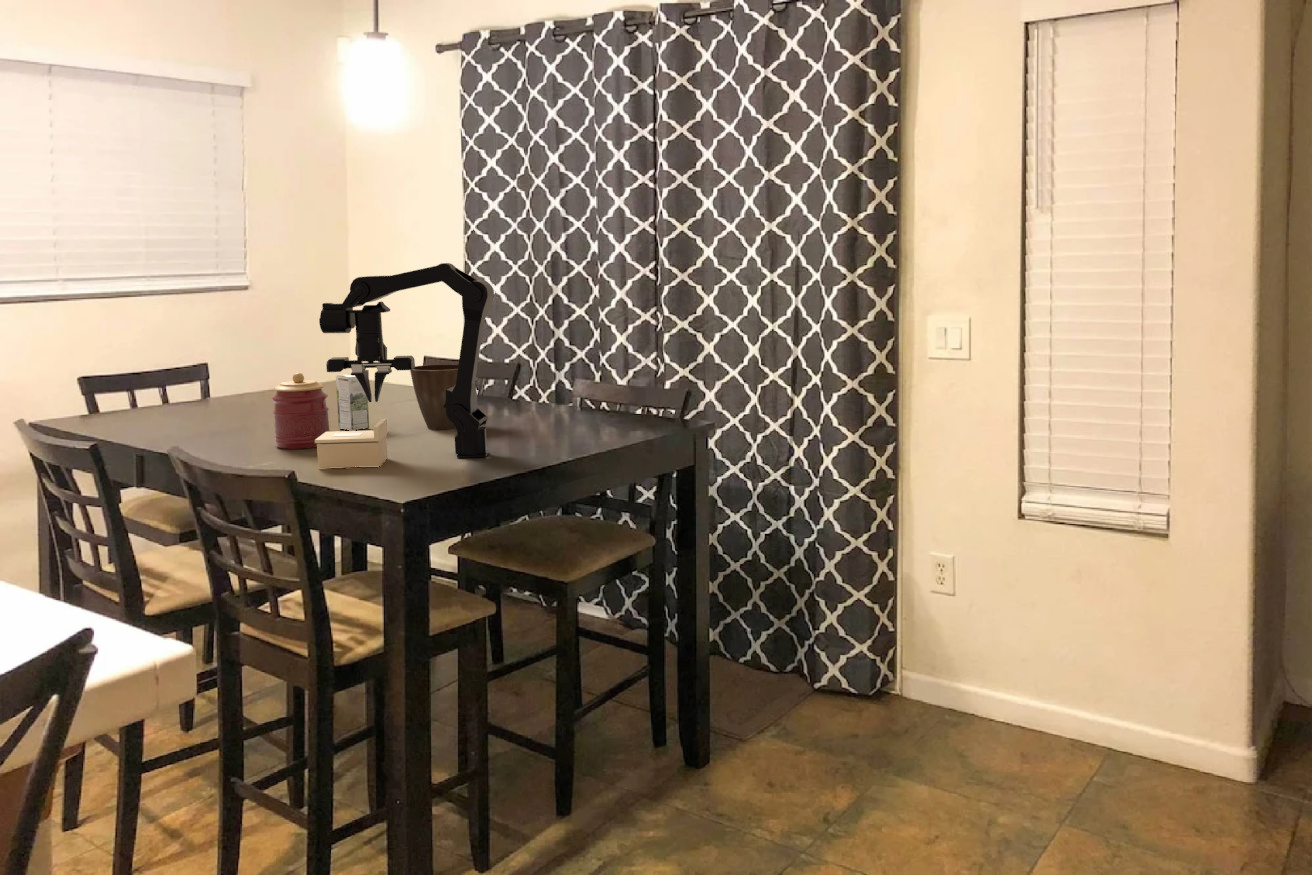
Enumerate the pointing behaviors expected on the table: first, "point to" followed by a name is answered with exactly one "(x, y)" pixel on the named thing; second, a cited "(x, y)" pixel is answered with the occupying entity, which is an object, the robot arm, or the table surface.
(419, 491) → the table surface
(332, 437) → the cream angled plate
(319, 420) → the canister
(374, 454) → the base
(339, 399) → the syrup box
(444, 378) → the plant pot
